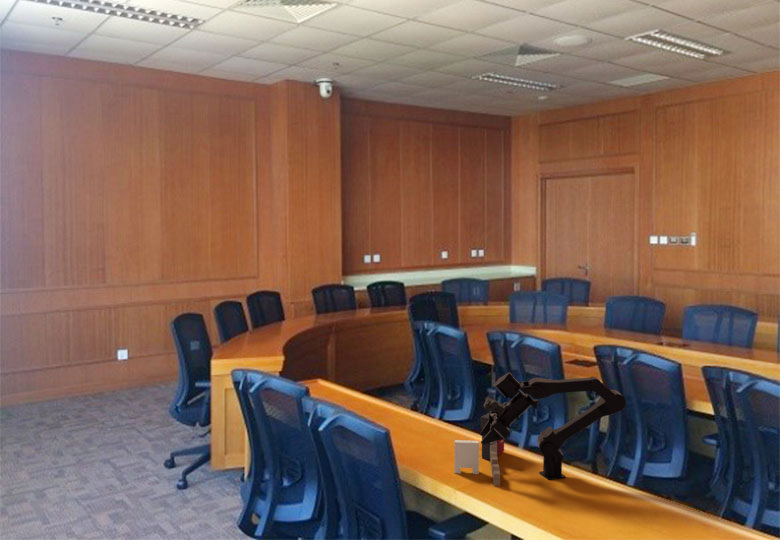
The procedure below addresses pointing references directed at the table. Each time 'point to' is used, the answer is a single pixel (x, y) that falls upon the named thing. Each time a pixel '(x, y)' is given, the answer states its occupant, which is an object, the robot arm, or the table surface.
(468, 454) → the notched plate
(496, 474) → the slotted beam
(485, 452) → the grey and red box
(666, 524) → the table surface
